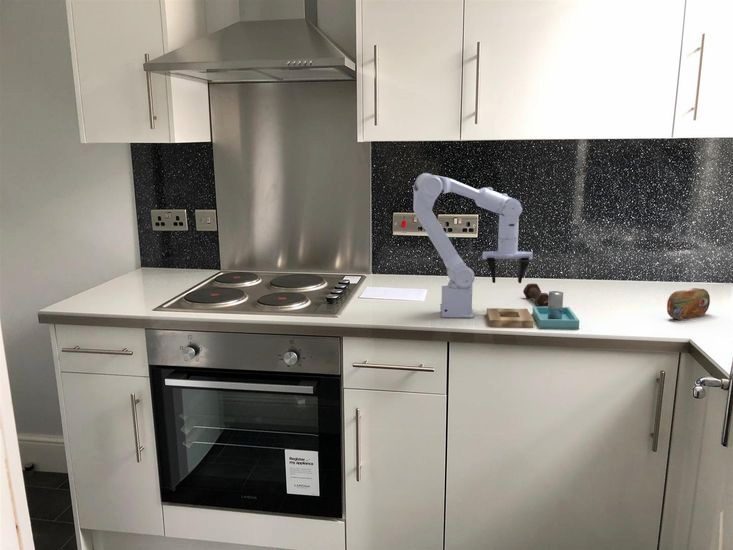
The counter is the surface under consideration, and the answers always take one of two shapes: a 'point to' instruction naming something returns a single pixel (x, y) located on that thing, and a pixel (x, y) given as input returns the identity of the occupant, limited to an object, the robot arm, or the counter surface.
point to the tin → (688, 303)
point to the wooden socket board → (509, 317)
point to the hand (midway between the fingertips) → (506, 282)
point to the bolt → (536, 295)
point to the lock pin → (555, 305)
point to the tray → (566, 322)
